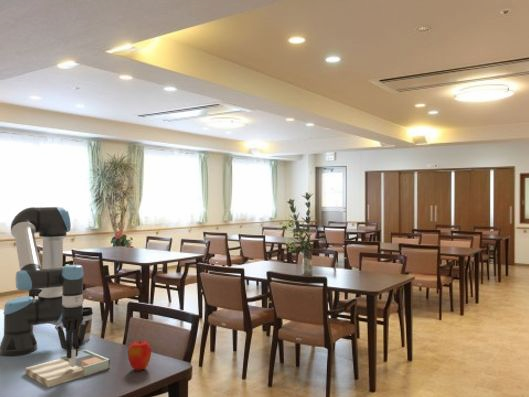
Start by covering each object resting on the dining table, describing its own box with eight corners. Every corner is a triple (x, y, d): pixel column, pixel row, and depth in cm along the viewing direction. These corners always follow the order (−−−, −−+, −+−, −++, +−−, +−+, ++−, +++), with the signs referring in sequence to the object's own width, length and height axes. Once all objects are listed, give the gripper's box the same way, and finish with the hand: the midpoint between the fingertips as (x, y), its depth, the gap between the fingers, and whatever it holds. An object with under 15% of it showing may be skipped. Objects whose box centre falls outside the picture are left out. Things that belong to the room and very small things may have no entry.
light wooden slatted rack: (25, 374, 179) (25, 367, 179) (60, 364, 190) (60, 358, 190) (48, 387, 167) (48, 380, 167) (84, 376, 178) (84, 369, 178)
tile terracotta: (81, 368, 184) (81, 360, 184) (95, 364, 189) (95, 357, 189) (89, 372, 181) (89, 364, 181) (102, 367, 185) (102, 360, 185)
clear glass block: (68, 362, 191) (69, 355, 191) (82, 358, 195) (82, 351, 195) (76, 365, 187) (76, 358, 187) (89, 362, 192) (89, 354, 192)
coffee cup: (96, 338, 225) (96, 308, 225) (81, 343, 218) (81, 311, 218) (85, 336, 229) (85, 306, 229) (70, 340, 222) (70, 309, 222)
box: (60, 364, 190) (60, 356, 190) (85, 357, 198) (85, 349, 198) (84, 376, 178) (84, 367, 178) (109, 368, 186) (109, 359, 186)
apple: (122, 370, 184) (123, 340, 184) (140, 364, 191) (140, 335, 191) (138, 375, 178) (138, 344, 178) (155, 368, 186) (156, 339, 186)
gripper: (60, 309, 171) (60, 372, 171) (93, 303, 181) (92, 363, 181) (51, 306, 176) (50, 368, 176) (83, 301, 186) (82, 359, 186)
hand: (72, 365), depth 179 cm, fingers closed
